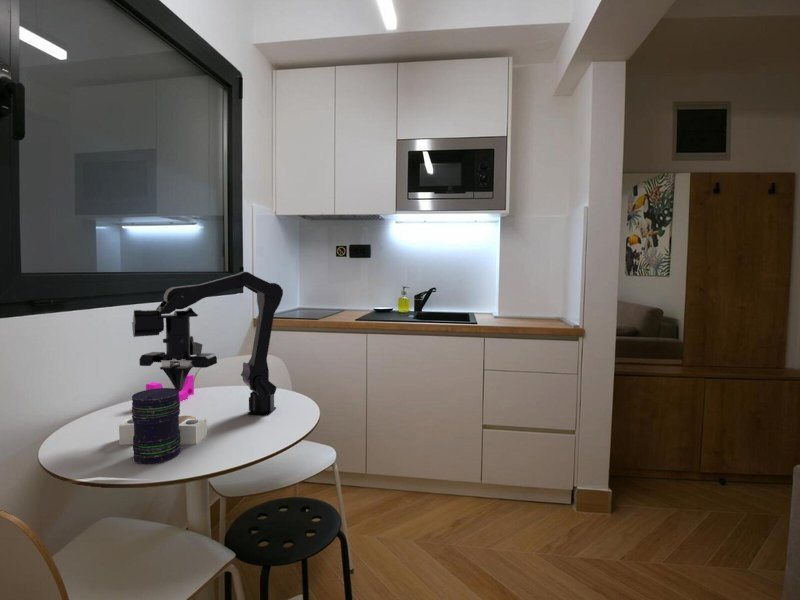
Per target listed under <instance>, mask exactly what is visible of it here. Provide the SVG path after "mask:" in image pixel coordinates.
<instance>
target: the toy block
mask: <svg viewBox="0 0 800 600" xmlns="http://www.w3.org/2000/svg"><path fill="white" fill-rule="evenodd" d="M194 375H195V374H189V373H188V375H187V378H186V380H185V383H184V386H183V389H182V391H179V401H181V402H183V400H184V401H187V400H188V399H189V397H190V395H191V396H193V395H195V380H194V379H195V376H194ZM162 384H163V383H161V382H155V381H152V382H149V383H145V390H150V389H157V388H164V387H163V385H162ZM174 389H175V387H174ZM186 399H187V400H186Z"/></svg>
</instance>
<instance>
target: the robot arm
mask: <svg viewBox="0 0 800 600" xmlns="http://www.w3.org/2000/svg"><path fill="white" fill-rule="evenodd" d="M241 287H245V288H246V289H248V290H250V291H252V293H255V294H256V303H257V308H258V316H257V319H256V320H257V321H256V327H255V334H254V338H253V344H252V351H251V356H250V359H249V360H248V362H245V361H244V362H243V363H242V371H241V374H240V376H241V377H242V382H243V383H244V384H245V385H246V386H248V388H249V389H250V391H251V392H250V393H249V394H250V397H248V411H249V412H247V415H248V416H249V415H250V416H252V415H253V416H270V415H271V414H272V413H273V412H274V411H276V409H277V407H276V406H275V394H276V391H277V386H276V385H275V384H274V383H272V382H271V381H270V379H269V378H270V377H269V376H270V372H269V371H270V370H269V364H268V354H269V349H270V342H271V336H272V329H273V323H274V319H275V318H274V317H275V313H276V312H277V310H278V308H279V306H280V304H281V302H282V298H283V295H284V290H283V288H282V287H281V285H279V284H278V283H275V282H269V281H268V280H264V279H262V278H260V277H258V276H255V275H254V274H252V273H251V272H249V271H240V272H238V273H236V274H233V275H232V274H231V275H228V276H225V277H221V278H217V279H215V280H210V281H206V282H203V283H200V284H192V285H180V286H171V287H169V288H168V289H166V291H165V292H164V294H163V300H162V302H161V303H160V304H158V306H157V308H155V309H149V310H148V309H147V310H142V309H135V310H134V309H133V315H132V317H133V318H132V322H131V324H132V327H131V328H132V329H131V330H132V335H133V338H137V337H152V336H153V337H154V336H159V335H160V333H162V332H164V330H165V338H162V343H163V344H165V346H166V349H165V350H166V353H165V352H164V351H151V352H147V353H144V354H141V356H140V358H139V359H138V360H139V366H141V367H151V366H152V365H153V364H154V363H161V366H160V367H159V370H162V371H163V372H164V374H166V376H167V377H168V379H169V380H170V382H171V384H172V385H173V387H174V388H175V389H178V390H179V391H182V389H183V386H184V383H185V380H186V378H187V375H188V374H189V373H190V371H191V370H192V368H200V369H201V368H202V369H203V368H209V367H211V366H213V365H215V364H218V357H217V356H216V354H215V353H210V352H209V353H208V352H207V353H205V352H204V353H203V352H202V350H203V344H202V343H199V342H196V341H194V336H192V335H191V323H190V322H191V321H190V318H191V317H192V318H193V317H198V316H199V313H197V312H195V311H194V310H193V308H192V307H191V306H193V305H195V304H197V303H198V302H199V301H202V300H203V299H205V298H207V297H211V296H215V295H218V294H221V293H225V292H228V291H232V290H234V289H237V288H241ZM186 308H187V309H186ZM184 309H186V310H184ZM171 313H173V314H171ZM164 319H165V320H164Z"/></svg>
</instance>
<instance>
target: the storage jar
mask: <svg viewBox="0 0 800 600" xmlns="http://www.w3.org/2000/svg"><path fill="white" fill-rule="evenodd" d="M174 388H175V387H174ZM174 388H172V387H170V388H169V387H163V388H157V389H150V390H146V389H145V390H142V391H138V392H135V393H134V394H132V396H131V401H132V402H131V405H132V406H131V413H132V416H131V419H133V421H134V436H133V444H132V452H133V462H134V463H135V464H136V465H142V466H144V465H145V466H150V465H158V464H163V463H166V462H170V461H171V460H173V459H175V458H177V457H178V456H179V455H180V454H181V448H180V447H181V444H180V442H181V436H180V429H179V416H180V414H181V413H180V412H181V410H180V408H181V407H180V406H181V402H180V401H179V390H178V389H174Z"/></svg>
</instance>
